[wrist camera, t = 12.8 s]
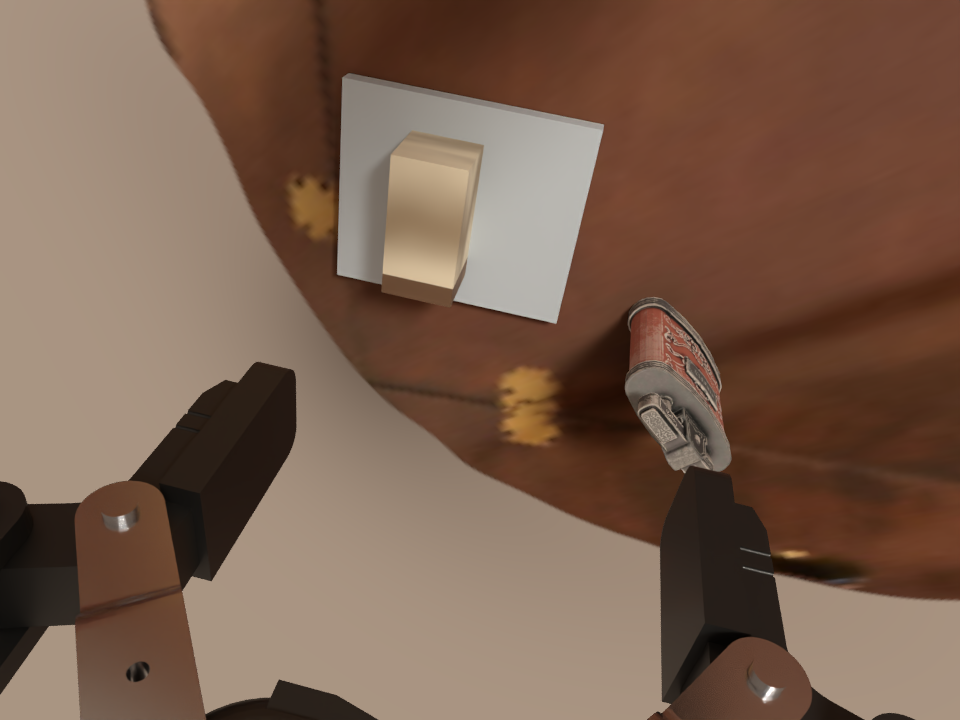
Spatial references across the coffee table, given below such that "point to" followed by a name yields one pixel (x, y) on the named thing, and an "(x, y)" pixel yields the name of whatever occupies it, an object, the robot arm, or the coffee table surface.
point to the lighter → (675, 387)
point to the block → (430, 216)
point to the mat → (500, 196)
